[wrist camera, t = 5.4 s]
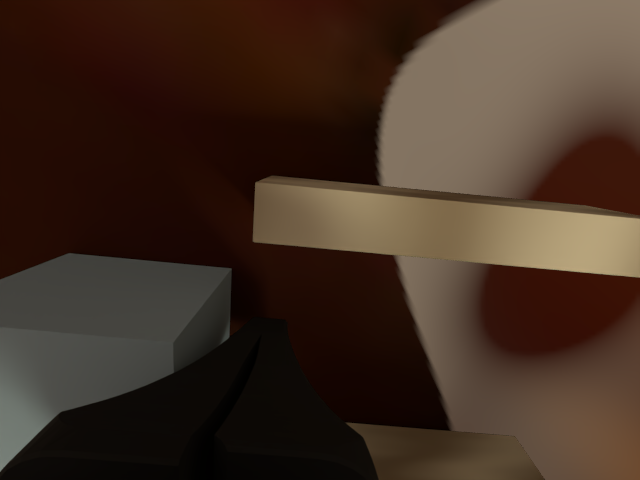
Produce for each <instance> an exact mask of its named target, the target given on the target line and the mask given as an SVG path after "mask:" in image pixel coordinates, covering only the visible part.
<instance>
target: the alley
mask: <svg viewBox="0 0 640 480" xmlns="http://www.w3.org/2000/svg"><path fill="white" fill-rule="evenodd" d="M253 242H258V243H269V244H280V245H291V246H302V247H313V248H324V249H335V250H346V251H357V252H368V253H379V254H390V255H401V256H411V257H422V258H433V259H445V260H455V261H466V262H477V263H488V264H499V265H510V266H522V267H533V268H543V269H554V270H565V271H576V272H587V273H597V274H608V275H620V276H631V277H640V216H637V215H632V214H627V213H621V212H616V211H611V210H605V209H599V208H595V207H589V206H584V205H574V204H564V203H554V202H543V201H532V200H522V199H512V198H501V197H491V196H480V195H470V194H460V193H449V192H438V191H428V190H418V189H407V188H397V187H386V186H376V185H365V184H355V183H345V182H334V181H324V180H313V179H303V178H292V177H282V176H270V177H267V178H265V179H262V180H260V181H257V182H255V203H254V225H253ZM345 423H346V422H345ZM346 424H348V425H349V426H350V427H351V428H353V429H354V430H355V431H356V432H358V433H359V434H360V435H361V436H362V437H363V438H364V440H365V442H366V445H367V447H368V450H369V452H370V455H371V457H372V460H373V463H374V466H375V469H376V472H377V475H378V479H379V480H545V479H544V478H543V476H542V475H541V473H540V472H539V470H538V469H537V468H536V466H535V465H534V463H533V462H532V460H531V459H530V457H529V456H528V455H527V453H526V452H525V450H524V449H523V447H522V446H521V444H520V443H519V442H518V440H517V439H516V437H515V436H507V435H494V434H482V433H470V432H457V431H445V430H432V429H420V428H408V427H395V426H383V425H370V424H358V423H346Z"/></svg>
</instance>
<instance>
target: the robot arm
mask: <svg viewBox="0 0 640 480" xmlns="http://www.w3.org/2000/svg"><path fill="white" fill-rule="evenodd" d="M287 326H288V323H287V322H286V320H283V319H272V318H260V317H254V318H252V319H251V320H250V321H249V322H247V323H246V324H245V325H244V326H243V327H242V328H240V329H239V330H238V331H237V332H236V333H234V334H233V335H232V336H231V337H229V338H228V339H227V340H226V341H224V342H223V343H222V344H220V345H219V346H218V347H216V348H215V349H213V350H212V351H211V352H209V353H208V354H206V355H205V356H203V357H202V358H200V359H198V360H197V361H195V362H193V363H191V364H190V365H188V366H186V367H184V368H182V369H181V370H179V371H177V372H175V373H172V374H170V375H168V376H166V377H164V378H161V379H159V380H157V381H155V382H153V383H150V384H148V385H146V386H143V387H140V388H138V389H135V390H133V391H130V392H127V393H124V394H121V395H118V396H115V397H112V398H109V399H106V400H103V401H99V402H95V403H92V404H88V405H84V406H81V407H77V408H74V409H70V410H66V411H62V412H60V413H59V414H58V415H57V416H56V417H54V418H53V419H52V420H51V421H50V422H49V423H48V424H47V425H46V426H45V427H44V428H43V429H42V430H41V431H40V432H39V433H38V434H37V435H36V436H35V437H34V438H33V439H32V440H31V441H30V442H29V443H28V444H27V445H26V446H25V447H24V448H23V449H22V450H21V451H20V452H19V453H18V454H17V455H16V456H14V457H13V458H12V459H11V460H10V461H9V462H8V463H7V464H6V466H5V467H4V468H3V469H2V470H1V471H0V480H379V479H378V475H377V472H376V469H375V466H374V463H373V460H372V457H371V455H370V452H369V450H368V447H367V445H366V442H365V440H364V438H363V437H362V436H361V435H360V434H359V433H358V432H356V431H355V430H354V429H353V428H351V427H350V426H349V425H348V424H346V423H345V422H344V421H342V420H341V419H340V418H339V417H338V416H337V415H336V414H335V413H334V412H333V411H332V410H331V409H330V408H329V407H328V406H327V405H326V404H325V402H324V401H323V400H322V399H321V398H320V397H319V395H318V394H317V393H316V391H315V390H314V389H313V387H312V386H311V384H310V383H309V381H308V380H307V378H306V376H305V375H304V373H303V371H302V369H301V367H300V365H299V363H298V361H297V359H296V357H295V354H294V352H293V349H292V346H291V343H290V340H289V336H288V330H287Z"/></svg>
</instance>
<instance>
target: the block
mask: <svg viewBox="0 0 640 480" xmlns="http://www.w3.org/2000/svg"><path fill="white" fill-rule="evenodd" d="M231 276H232V268H221V267H210V266H200V265H189V264H178V263H168V262H157V261H146V260H136V259H125V258H115V257H104V256H93V255H83V254H72V253H68V254H65V255H63V256H60V257H58V258H55V259H52V260H50V261H47V262H45V263H42V264H39V265H37V266H34V267H32V268H29V269H26V270H24V271H21V272H19V273H16V274H13V275H11V276H8V277H6V278H3V279H0V471H1V470H2V469H3V468H4V467H5V466H6V464H7V463H8V462H9V461H10V460H11V459H12V458H13V457H14V456H16V455H17V454H18V453H19V452H20V451H21V450H22V449H23V448H24V447H25V446H26V445H27V444H28V443H29V442H30V441H31V440H32V439H33V438H34V437H35V436H36V435H37V434H38V433H39V432H40V431H41V430H42V429H43V428H44V427H45V426H46V425H47V424H48V423H49V422H50V421H51V420H52V419H53V418H54V417H56V416H57V415H58V414H59V413H60V412H62V411H66V410H70V409H74V408H77V407H81V406H84V405H88V404H92V403H95V402H99V401H103V400H106V399H109V398H112V397H115V396H118V395H121V394H124V393H127V392H130V391H133V390H135V389H138V388H140V387H143V386H146V385H148V384H150V383H153V382H155V381H157V380H159V379H161V378H164V377H166V376H168V375H170V374H172V373H175V372H177V371H179V370H181V369H182V368H184V367H186V366H188V365H190V364H191V363H193V362H195V361H197V360H198V359H200V358H202V357H203V356H205V355H206V354H208V353H209V352H211V351H212V350H213V349H215V348H216V347H218V346H219V345H220V344H222V343H223V342H224V341H226V340H227V339H228V338H229V334H230V305H231Z"/></svg>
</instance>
